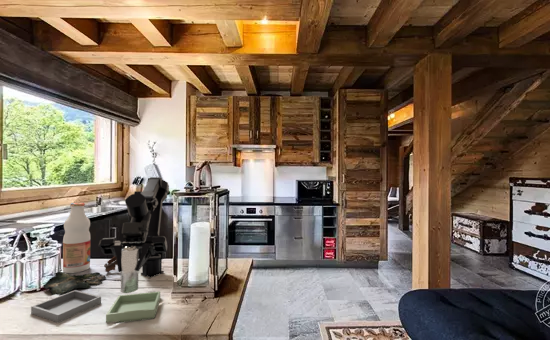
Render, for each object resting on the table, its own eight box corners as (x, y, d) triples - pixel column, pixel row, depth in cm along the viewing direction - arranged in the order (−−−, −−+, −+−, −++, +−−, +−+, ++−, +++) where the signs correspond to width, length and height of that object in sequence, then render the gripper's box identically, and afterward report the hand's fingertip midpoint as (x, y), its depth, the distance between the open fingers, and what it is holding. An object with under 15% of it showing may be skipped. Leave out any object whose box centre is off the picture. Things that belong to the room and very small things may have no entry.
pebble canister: (125, 286, 85) (126, 244, 85) (140, 286, 85) (141, 244, 85) (117, 293, 80) (118, 248, 80) (133, 292, 80) (134, 248, 80)
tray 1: (75, 297, 91) (75, 289, 91) (101, 304, 86) (101, 296, 86) (31, 315, 80) (31, 306, 80) (57, 324, 75) (58, 315, 75)
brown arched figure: (130, 276, 111) (118, 260, 109) (109, 287, 111) (96, 271, 109) (140, 259, 123) (130, 245, 120) (120, 269, 123) (110, 254, 120)
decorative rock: (94, 264, 113) (117, 267, 106) (94, 279, 113) (116, 284, 106) (37, 276, 97) (59, 281, 90) (36, 294, 96) (58, 300, 89)
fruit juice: (58, 270, 115) (59, 203, 116) (83, 264, 123) (83, 201, 124) (69, 275, 111) (70, 205, 111) (94, 268, 119) (95, 202, 119)
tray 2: (118, 303, 87) (118, 295, 87) (160, 299, 91) (160, 291, 91) (105, 324, 76) (106, 314, 76) (154, 318, 79) (154, 309, 79)
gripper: (101, 212, 85) (84, 259, 74) (166, 210, 89) (158, 255, 78) (110, 232, 92) (96, 278, 81) (169, 230, 96) (163, 273, 85)
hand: (128, 271), depth 81 cm, fingers closed on pebble canister, 5 cm apart
